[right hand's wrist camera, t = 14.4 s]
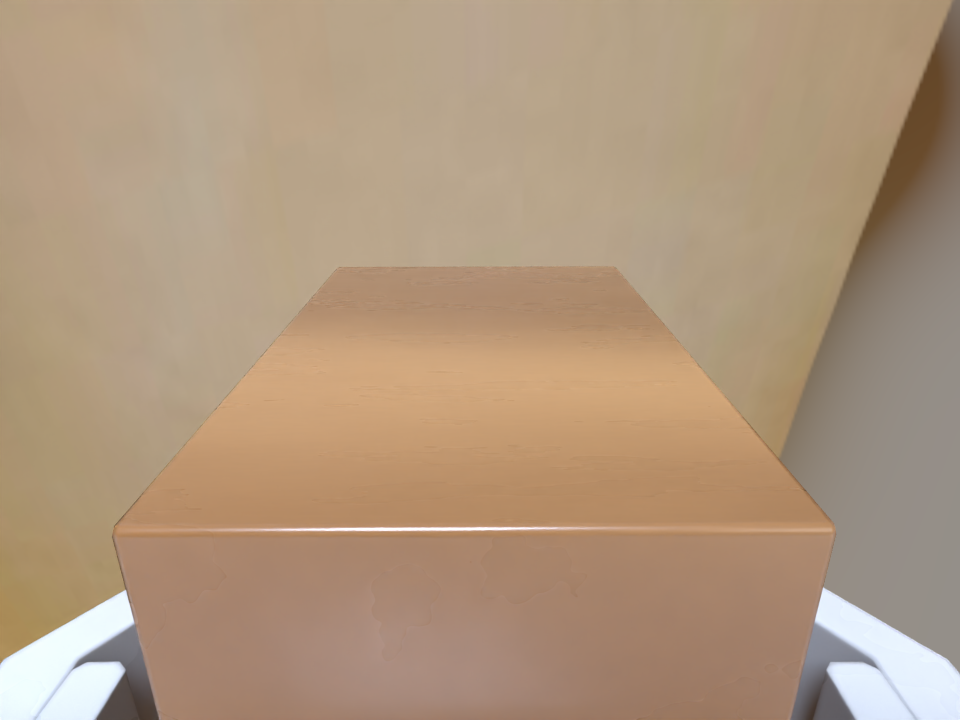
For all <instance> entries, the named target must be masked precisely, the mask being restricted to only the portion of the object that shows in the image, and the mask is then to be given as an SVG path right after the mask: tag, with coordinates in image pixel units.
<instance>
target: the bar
mask: <svg viewBox="0 0 960 720" xmlns="http://www.w3.org/2000/svg"><path fill="white" fill-rule="evenodd" d="M835 537H836V531H835V526H834V523H833V522H832V521H831V520H830V518H829V517H828V516H827V515H826V514H825V513H824V511H823V510H822V509H821V508H820V507H819V506H818V504H817V503H816V502H815V501H814V500H813V498H812V497H811V496H810V495H809V494H808V493H807V491H806V490H805V489H804V488H803V487H802V486H801V484H800V483H799V482H798V481H797V480H796V478H795V477H794V476H793V475H792V474H791V473H790V471H789V470H788V469H787V468H786V467H785V466H784V464H783V463H782V462H781V461H780V460H779V459H778V457H777V456H776V455H775V454H774V453H773V451H772V450H771V449H770V448H769V447H768V446H767V444H766V443H765V442H764V441H763V440H762V439H761V437H760V436H759V435H758V434H757V433H756V432H755V430H754V429H753V428H752V427H751V426H750V425H749V423H748V422H747V421H746V420H745V419H744V417H743V416H742V415H741V414H740V413H739V412H738V410H737V409H736V408H735V407H734V406H733V405H732V403H731V402H730V401H729V400H728V399H727V398H726V396H725V395H724V394H723V393H722V392H721V390H720V389H719V388H718V387H717V386H716V385H715V383H714V382H713V381H712V380H711V379H710V378H709V376H708V375H707V374H706V373H705V372H704V371H703V369H702V368H701V367H700V366H699V365H698V363H697V362H696V361H695V360H694V359H693V358H692V356H691V355H690V354H689V353H688V352H687V351H686V349H685V348H684V347H683V346H682V345H681V344H680V342H679V341H678V340H677V339H676V338H675V337H674V335H673V334H672V333H671V332H670V331H669V329H668V328H667V327H666V326H665V325H664V324H663V322H662V321H661V320H660V319H659V318H658V317H657V315H656V314H655V313H654V312H653V311H652V310H651V308H650V307H649V306H648V305H647V304H646V302H645V301H644V300H643V299H642V298H641V297H640V295H639V294H638V293H637V292H636V291H635V290H634V288H633V287H632V286H631V285H630V284H629V283H628V281H627V280H626V279H625V278H624V277H623V276H622V274H621V273H620V272H619V271H618V270H617V268H615V267H339V268H337V269H336V270H335V271H334V273H333V274H332V275H331V276H330V277H329V278H328V279H327V281H326V282H325V283H324V284H323V285H322V286H321V288H320V289H319V290H318V291H317V292H316V293H315V295H314V296H313V297H312V298H311V299H310V300H309V301H308V303H307V304H306V305H305V306H304V307H303V308H302V310H301V311H300V312H299V313H298V314H297V315H296V316H295V318H294V319H293V320H292V321H291V322H290V323H289V325H288V326H287V327H286V328H285V329H284V330H283V332H282V333H281V334H280V335H279V336H278V337H277V338H276V340H275V341H274V342H273V343H272V344H271V345H270V347H269V348H268V349H267V350H266V351H265V352H264V354H263V355H262V356H261V357H260V358H259V359H258V360H257V362H256V363H255V364H254V365H253V366H252V367H251V369H250V370H249V371H248V372H247V373H246V374H245V375H244V377H243V378H242V379H241V380H240V381H239V382H238V384H237V385H236V386H235V387H234V388H233V389H232V391H231V392H230V393H229V394H228V395H227V396H226V397H225V399H224V400H223V401H222V402H221V403H220V404H219V406H218V407H217V408H216V409H215V410H214V411H213V412H212V414H211V415H210V416H209V417H208V418H207V419H206V421H205V422H204V423H203V424H202V425H201V426H200V428H199V429H198V430H197V431H196V432H195V433H194V434H193V436H192V437H191V438H190V439H189V440H188V441H187V443H186V444H185V445H184V446H183V447H182V448H181V450H180V451H179V452H178V453H177V454H176V455H175V456H174V458H173V459H172V460H171V461H170V462H169V463H168V465H167V466H166V467H165V468H164V469H163V470H162V471H161V473H160V474H159V475H158V476H157V477H156V478H155V480H154V481H153V482H152V483H151V484H150V485H149V487H148V488H147V489H146V490H145V491H144V492H143V493H142V495H141V496H140V497H139V498H138V499H137V500H136V502H135V503H134V504H133V505H132V506H131V507H130V508H129V510H128V511H127V512H126V513H125V514H124V515H123V517H122V518H121V519H120V520H119V521H118V522H117V524H116V525H115V526H114V529H113V535H112V538H113V542H114V546H115V550H116V554H117V557H118V561H119V565H120V569H121V573H122V577H123V581H124V585H125V589H126V592H127V596H128V600H129V604H130V608H131V612H132V616H133V620H134V624H135V628H136V631H137V635H138V639H139V643H140V647H141V651H142V655H143V659H144V663H145V667H146V670H147V674H148V678H149V682H150V686H151V690H152V694H153V698H154V702H155V706H156V709H157V713H158V717H159V720H791V717H792V713H793V709H794V705H795V701H796V697H797V692H798V688H799V684H800V680H801V676H802V672H803V668H804V664H805V660H806V656H807V651H808V647H809V643H810V639H811V635H812V631H813V627H814V623H815V619H816V614H817V610H818V606H819V602H820V598H821V594H822V590H823V586H824V582H825V578H826V573H827V569H828V565H829V561H830V557H831V553H832V549H833V545H834V541H835Z"/></svg>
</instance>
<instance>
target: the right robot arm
mask: <svg viewBox="0 0 960 720" xmlns="http://www.w3.org/2000/svg"><path fill="white" fill-rule="evenodd" d="M0 720H159V717H158V713H157V709H156V706H155V702H154V698H153V694H152V690H151V686H150V682H149V678H148V674H147V670H146V667H145V663H144V659H143V655H142V651H141V647H140V643H139V639H138V635H137V631H136V628H135V624H134V620H133V616H132V612H131V608H130V604H129V600H128V596H127V592H126V590H124V591H122V592H121V593H119V594H117V595H116V596H114V597H112V598H110V599H109V600H107V601H105V602H103V603H102V604H100V605H98V606H96V607H95V608H93V609H91V610H89V611H88V612H86V613H84V614H82V615H81V616H79V617H77V618H75V619H74V620H72V621H70V622H68V623H67V624H65V625H63V626H61V627H60V628H58V629H56V630H54V631H53V632H51V633H49V634H47V635H46V636H44V637H42V638H40V639H39V640H37V641H35V642H33V643H32V644H30V645H28V646H26V647H25V648H23V649H21V650H19V651H18V652H16V653H14V654H12V655H11V656H9V657H7V658H5V659H4V660H3V661H2V663H1V664H0ZM791 720H960V673H959V672H958V671H957V670H956V669H955V667H954V666H953V665H952V664H951V663H950V661H949V660H948V659H946V658H944V657H942V656H941V655H939V654H937V653H935V652H934V651H932V650H930V649H928V648H927V647H925V646H923V645H922V644H920V643H918V642H916V641H915V640H913V639H911V638H910V637H908V636H906V635H904V634H903V633H901V632H899V631H897V630H896V629H894V628H892V627H891V626H889V625H887V624H885V623H884V622H882V621H880V620H878V619H877V618H875V617H873V616H872V615H870V614H868V613H866V612H865V611H863V610H861V609H859V608H858V607H856V606H854V605H853V604H851V603H849V602H847V601H846V600H844V599H842V598H841V597H839V596H837V595H835V594H834V593H832V592H830V591H828V590H827V589H825V588H823V590H822V594H821V598H820V602H819V606H818V610H817V614H816V619H815V623H814V627H813V631H812V635H811V639H810V643H809V647H808V651H807V656H806V660H805V664H804V668H803V672H802V676H801V680H800V684H799V688H798V692H797V697H796V701H795V705H794V709H793V713H792V717H791Z"/></svg>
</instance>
